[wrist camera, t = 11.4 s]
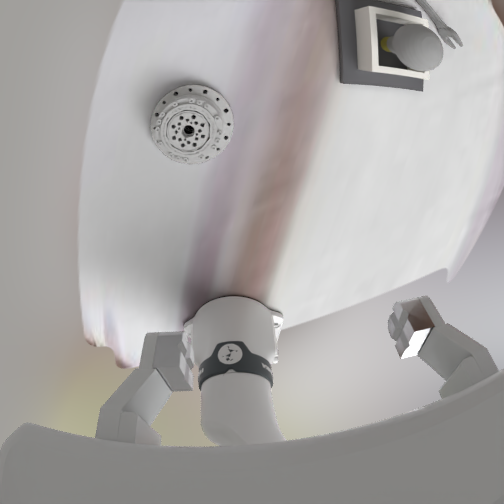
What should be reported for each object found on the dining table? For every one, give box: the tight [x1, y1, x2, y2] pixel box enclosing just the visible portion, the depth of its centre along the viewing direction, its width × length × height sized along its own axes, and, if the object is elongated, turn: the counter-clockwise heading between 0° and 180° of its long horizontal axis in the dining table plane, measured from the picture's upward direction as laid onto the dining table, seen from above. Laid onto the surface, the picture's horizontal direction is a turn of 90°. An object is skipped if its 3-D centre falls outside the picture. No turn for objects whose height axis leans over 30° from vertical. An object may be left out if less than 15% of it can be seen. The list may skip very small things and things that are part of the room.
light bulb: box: [381, 24, 443, 71], centre depth 22 cm, size 5×6×10 cm
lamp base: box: [335, 0, 430, 91], centre depth 25 cm, size 12×12×5 cm
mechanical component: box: [151, 85, 234, 164], centre depth 31 cm, size 10×4×10 cm
